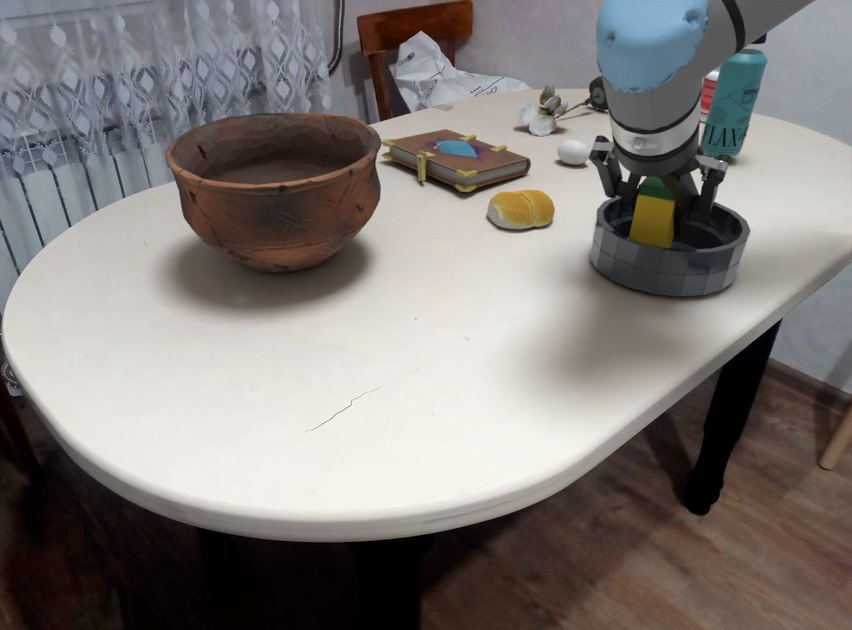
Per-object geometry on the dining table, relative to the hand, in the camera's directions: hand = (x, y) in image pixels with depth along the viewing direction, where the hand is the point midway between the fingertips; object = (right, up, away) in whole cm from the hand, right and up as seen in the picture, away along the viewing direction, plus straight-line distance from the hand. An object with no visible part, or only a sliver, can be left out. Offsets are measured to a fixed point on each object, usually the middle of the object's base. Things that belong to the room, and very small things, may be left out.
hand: (660, 221), depth 81 cm
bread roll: (-15, +2, +11) cm, 19 cm away
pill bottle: (+28, +28, +44) cm, 60 cm away
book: (-24, +14, +28) cm, 40 cm away
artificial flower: (+1, +28, +46) cm, 53 cm away
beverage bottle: (+21, +15, +27) cm, 37 cm away
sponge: (-2, -5, -1) cm, 5 cm away
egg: (-3, +15, +27) cm, 31 cm away
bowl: (-46, -4, +3) cm, 47 cm away
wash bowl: (-1, -6, -1) cm, 6 cm away
